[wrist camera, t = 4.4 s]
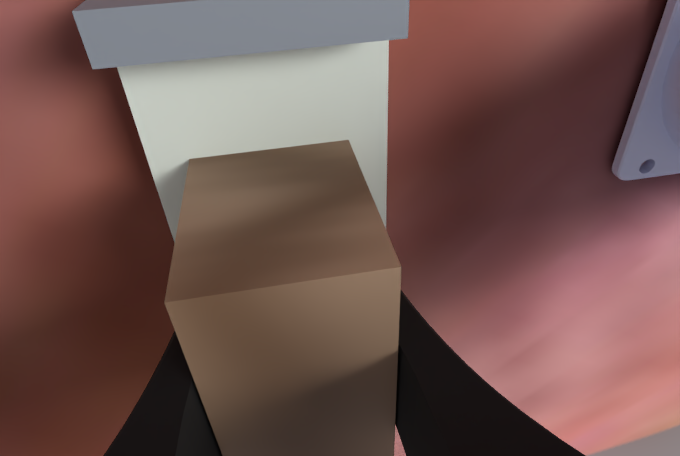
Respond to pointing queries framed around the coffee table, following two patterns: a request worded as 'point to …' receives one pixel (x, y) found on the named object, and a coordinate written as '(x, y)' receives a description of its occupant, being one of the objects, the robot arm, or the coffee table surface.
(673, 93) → the robot arm
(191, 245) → the tan cardboard box
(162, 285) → the coffee table surface
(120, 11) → the rail
